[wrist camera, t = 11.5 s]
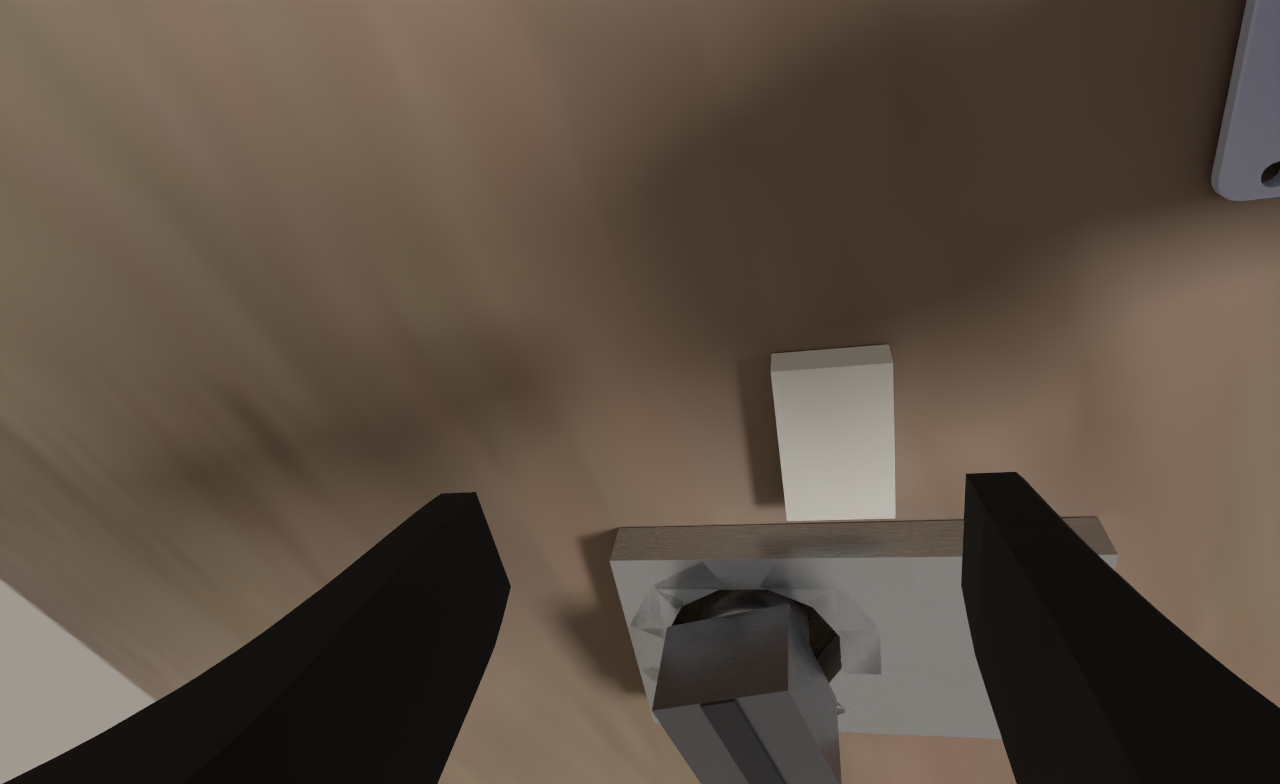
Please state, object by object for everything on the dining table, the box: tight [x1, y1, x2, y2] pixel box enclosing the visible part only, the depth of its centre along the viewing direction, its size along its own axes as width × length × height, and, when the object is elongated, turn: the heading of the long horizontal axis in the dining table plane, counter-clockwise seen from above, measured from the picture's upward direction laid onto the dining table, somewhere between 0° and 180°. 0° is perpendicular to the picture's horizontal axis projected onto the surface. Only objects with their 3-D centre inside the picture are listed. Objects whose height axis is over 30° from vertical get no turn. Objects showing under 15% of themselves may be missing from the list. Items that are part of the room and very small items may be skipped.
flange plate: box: [610, 517, 1118, 739], centre depth 23 cm, size 14×8×2 cm, turn 101°
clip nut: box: [652, 590, 841, 784], centre depth 23 cm, size 4×4×5 cm
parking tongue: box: [771, 344, 895, 521], centre depth 20 cm, size 3×5×1 cm, turn 11°
